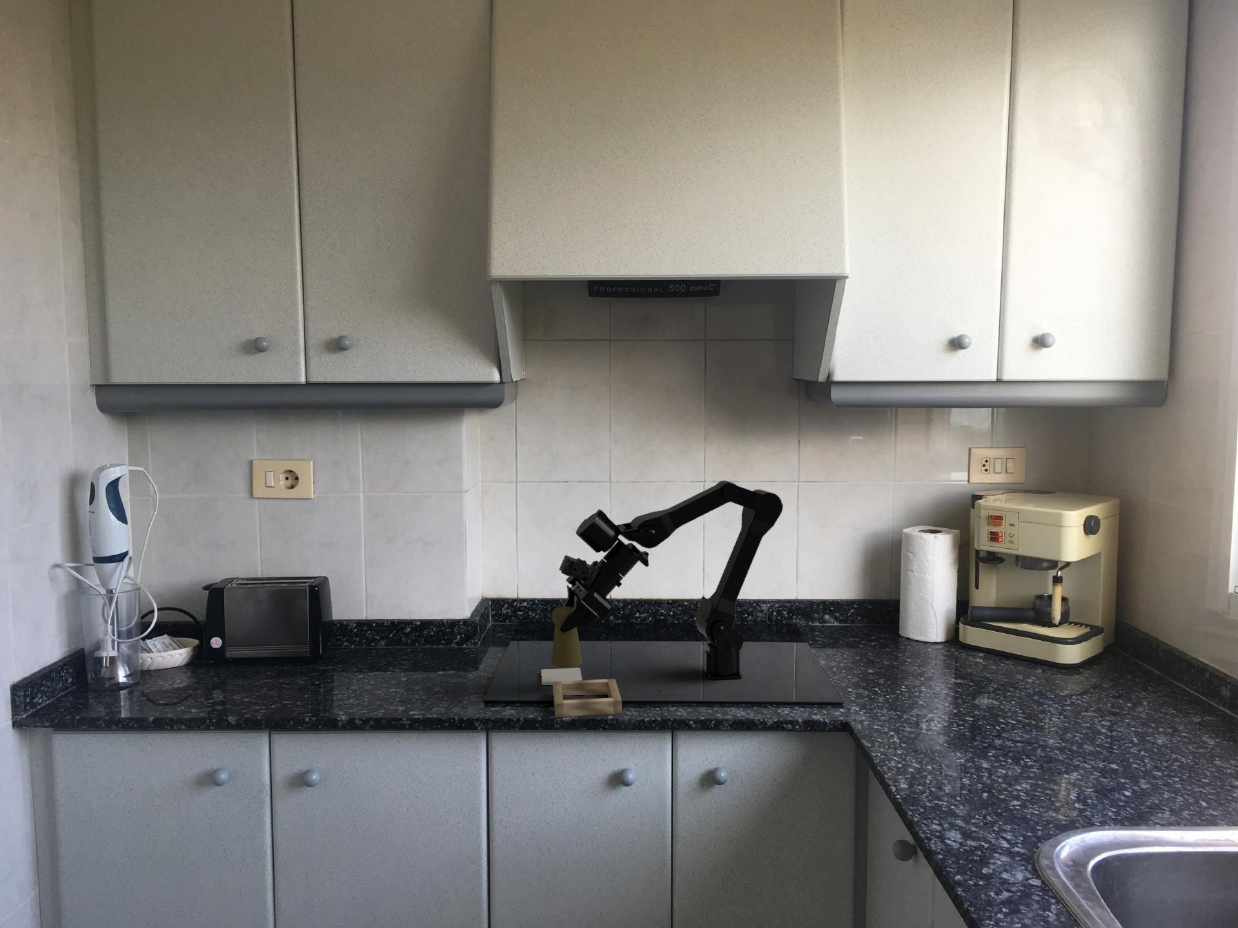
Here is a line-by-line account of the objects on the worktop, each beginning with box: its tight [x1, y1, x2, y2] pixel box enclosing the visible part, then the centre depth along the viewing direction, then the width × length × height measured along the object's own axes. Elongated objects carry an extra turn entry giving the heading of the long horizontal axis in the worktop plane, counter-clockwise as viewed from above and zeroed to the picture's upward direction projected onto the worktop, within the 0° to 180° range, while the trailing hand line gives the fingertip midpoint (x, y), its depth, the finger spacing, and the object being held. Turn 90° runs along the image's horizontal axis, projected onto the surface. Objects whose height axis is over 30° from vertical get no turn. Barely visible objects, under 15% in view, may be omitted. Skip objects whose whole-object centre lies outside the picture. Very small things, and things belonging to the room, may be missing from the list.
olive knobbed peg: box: [551, 605, 583, 668], centre depth 176 cm, size 6×6×11 cm
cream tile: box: [540, 667, 583, 686], centre depth 183 cm, size 8×8×1 cm
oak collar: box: [552, 678, 623, 718], centre depth 168 cm, size 12×12×2 cm
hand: (558, 627), depth 176 cm, fingers closed on olive knobbed peg, 5 cm apart
